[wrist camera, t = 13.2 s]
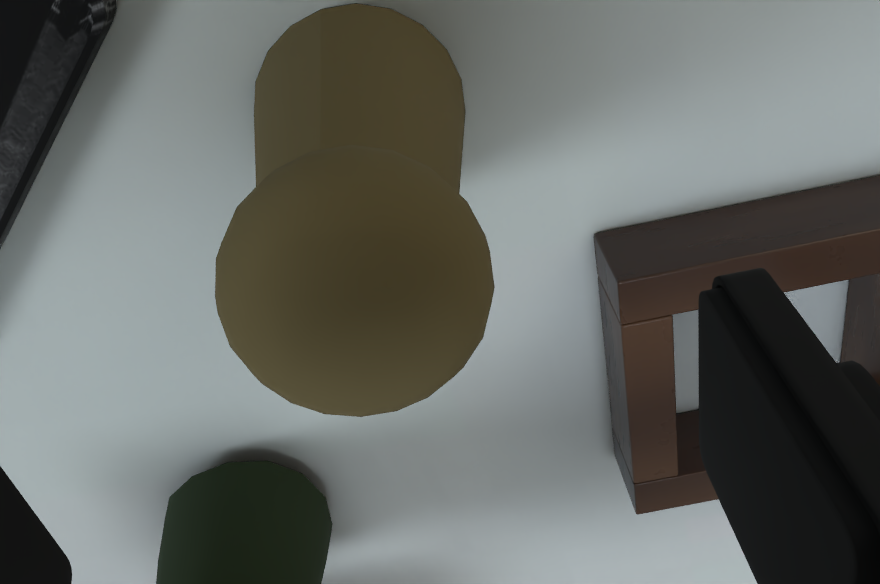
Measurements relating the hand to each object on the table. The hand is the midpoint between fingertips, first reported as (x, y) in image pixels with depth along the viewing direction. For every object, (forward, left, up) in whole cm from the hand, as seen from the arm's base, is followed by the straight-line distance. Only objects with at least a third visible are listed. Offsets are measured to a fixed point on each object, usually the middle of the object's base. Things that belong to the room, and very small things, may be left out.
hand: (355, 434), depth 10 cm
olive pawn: (+1, 0, -15) cm, 15 cm away
